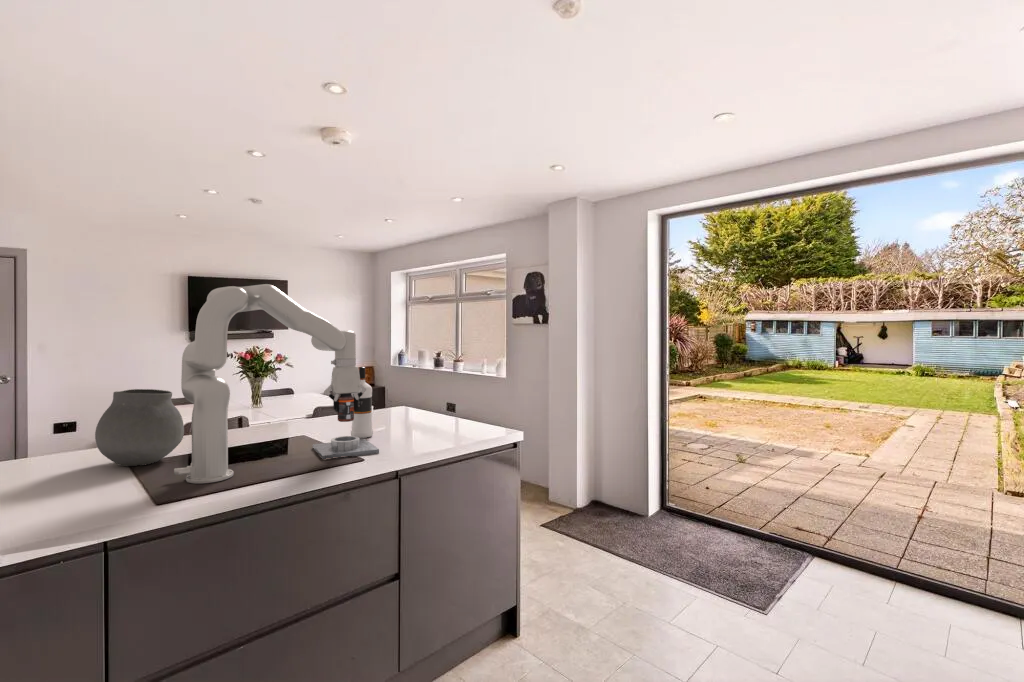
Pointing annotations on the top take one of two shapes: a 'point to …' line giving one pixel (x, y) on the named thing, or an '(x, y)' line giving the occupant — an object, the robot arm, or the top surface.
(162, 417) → the ceramic pot
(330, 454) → the duct plate
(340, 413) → the supplement bottle
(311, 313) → the robot arm
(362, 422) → the vodka
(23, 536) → the top surface
